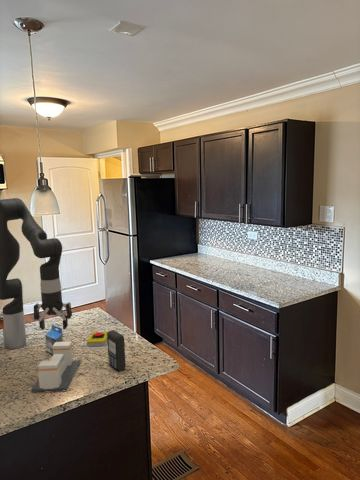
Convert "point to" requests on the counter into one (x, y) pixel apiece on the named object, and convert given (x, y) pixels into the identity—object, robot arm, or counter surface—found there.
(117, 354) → the black card payment terminal
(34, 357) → the counter surface
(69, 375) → the rail plate
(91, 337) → the emergency button
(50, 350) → the label tape cartridge
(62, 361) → the block
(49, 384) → the mounted modules
